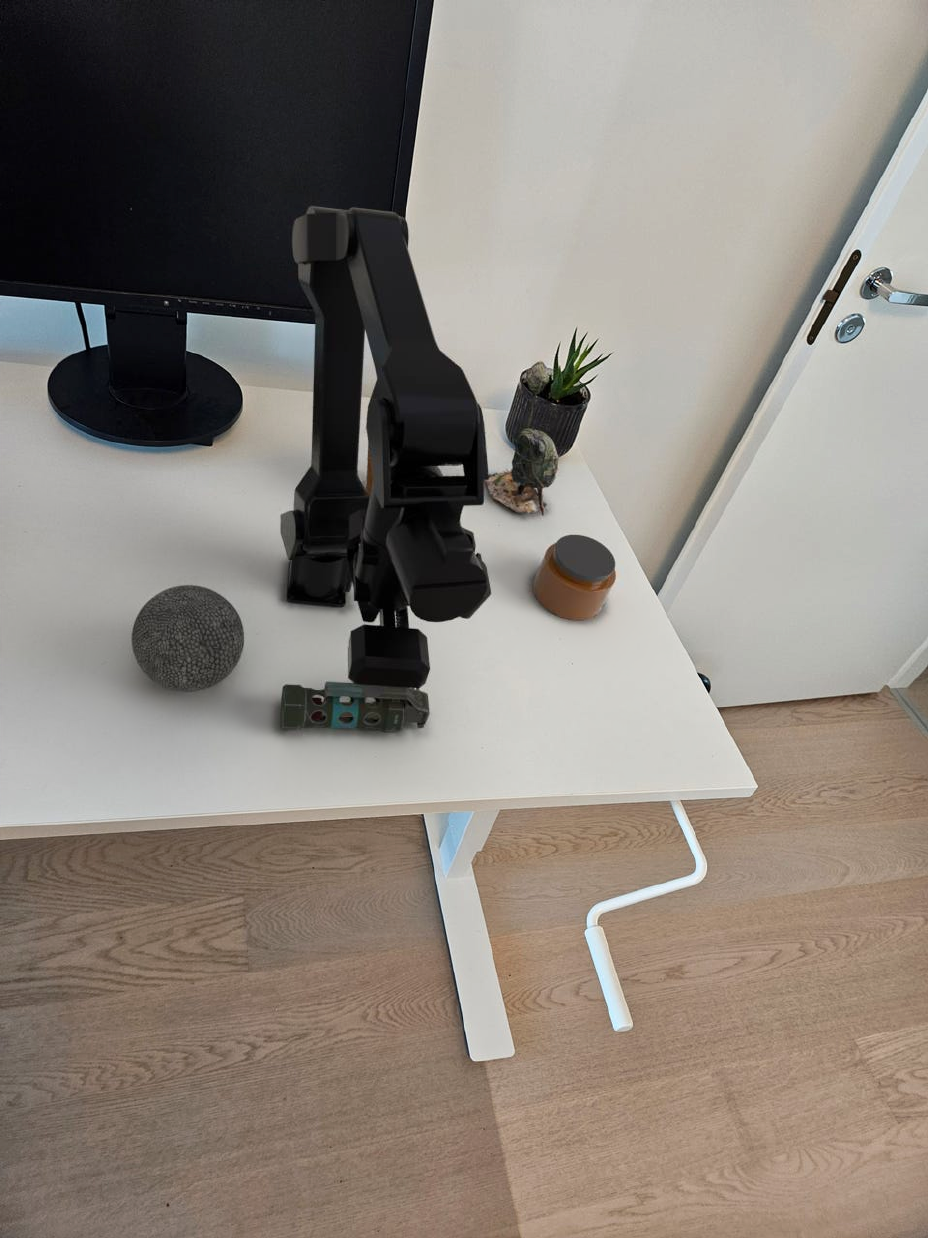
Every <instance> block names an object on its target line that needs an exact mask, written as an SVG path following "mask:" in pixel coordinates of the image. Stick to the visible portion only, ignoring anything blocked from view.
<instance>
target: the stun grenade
mask: <svg viewBox="0 0 928 1238" xmlns="http://www.w3.org/2000/svg"><path fill="white" fill-rule="evenodd" d="M314 696H317V697H314ZM318 696H321V697H318ZM322 698H323V699H322ZM341 698H349V702H348V701H341ZM367 699H368V698H367V697H365V696H364V694H363V692H362V690H361V688H360V686H359V685H358V684H354V683H353V682H345V681H344V682H342V681H325V683H324V688H323V689H316V688H312V687H303V686H302V685H301V684H292V683H291V684H289V683H286V684H284V685H282V690H281V699H280V700H281V701H280V719H279V724H280V725H279V727H280V729H281V730H286V731H289V730H290V731H297V730H299V729H302V728H315V727H318V728H319V727H320V728H324V729H340V728H346V729H347V728H348V729H357V730H359V729H360V730H364V729H375V730H380V731H382V732H383V733H386V732H387V733H388V732H390V733H399V732H401V731H402V730H403V727H404V723H411V724H416V727H417V729H423V728H425V726H426V725H427V724H426V723H427V721H428V719H429V716H430V714H431V712H430V704H429V703H430V702H429V694H428V693H427V692H426V691H422V690H420V688H404V687H389V686H388V687H387V688H386V689H385V690H384V691H383V692H382V694H381V695H380V696H379V697H378V698H373V699H374V701H373V702H367ZM321 718H322V719H321ZM340 718H349V719H348V720H346V721H342V720H340ZM365 719H371V720H373V721H369V722H368V721H366V720H365Z"/></svg>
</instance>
